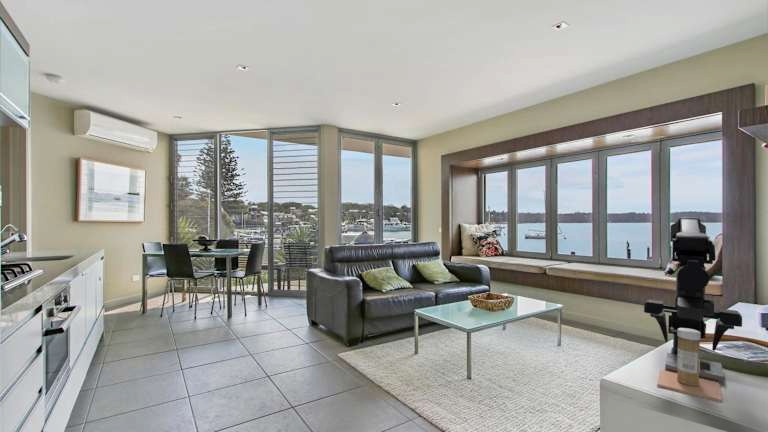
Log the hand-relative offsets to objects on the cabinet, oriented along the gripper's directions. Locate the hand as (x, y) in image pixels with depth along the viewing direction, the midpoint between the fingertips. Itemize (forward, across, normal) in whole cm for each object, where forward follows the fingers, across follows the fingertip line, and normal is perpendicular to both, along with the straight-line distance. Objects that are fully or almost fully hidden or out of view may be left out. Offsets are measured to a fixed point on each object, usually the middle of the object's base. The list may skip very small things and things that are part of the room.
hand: (689, 346), depth 94 cm
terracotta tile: (+10, 0, 0) cm, 10 cm away
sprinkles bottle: (+10, 0, 0) cm, 10 cm away
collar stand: (+10, +1, +13) cm, 16 cm away
